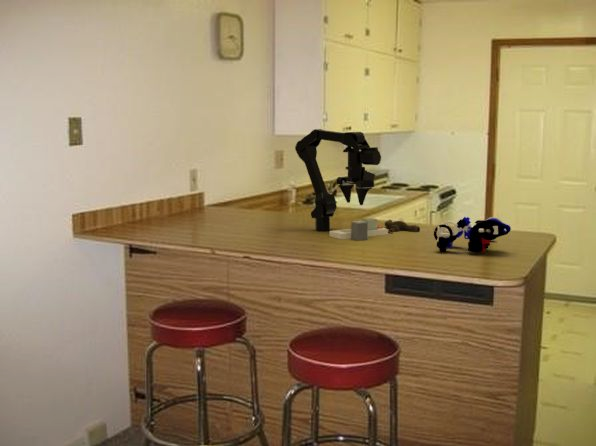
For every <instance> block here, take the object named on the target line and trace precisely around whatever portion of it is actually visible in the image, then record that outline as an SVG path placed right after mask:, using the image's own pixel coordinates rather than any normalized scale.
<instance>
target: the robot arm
mask: <svg viewBox="0 0 596 446" xmlns="http://www.w3.org/2000/svg"><path fill="white" fill-rule="evenodd" d="M322 140H323V141H329V142H336V143H341V144H342V145H343V146H346V148H345V149H343V150H342V152H343V153H347V166H345V170H347V176H338V177H337V178H336V185H337V186H338V187H339V188H340V190H341V192H342V194H343V198H344V199H345V201H346V203H351V197H352V189H353V187H354V186H355V185H356V186H355V190H356V195H357V199H358V203H359V206H363V205H364V203H365V200H366V196H367V194H368V192H369V191H370V190H372V189H373V188H375V178H376V174H375V173H372V172H370V171H368V170H366V167H365V166H363V165H366V166H378V165H380V163H381V160H382V155H381V152H380V151H379V147H378V146H377V147H376V146H375V147H371V146H370V145H369V142H368V141H367V140H366V137H365V135H364V132H362V131H348V132H340V131H335V130H334V131H333V130H325V129H321V128H316V129H312V131H310V132H309V133H308V134H307V135H305V136H304V137H302V138H301V139H300V140H298V141H297V142H296V143H295V146H294V149H295V152H296V154H297V156H298V158H299V159H300V160H301V161H302V162H303V163H304V165H305V167H306V171H307V174H308V176H309V180H310V182H311V186H312V188H313V191H314V194H315V199H314V205H315V208H314V209H312V211H311V212H310V216H311V218H312V219H315V221H314V222H315V225H314V227H315V229H314V230H315V231H318V232H330V231H331V230H330V229H331V224H330V223H331V222H330V221H331V219H330V218H332V217H334V215H335V212H336V210H337V206H338V205H337V204H338V201H337V200H336V198H335V197H336V196H335V194H334V193H329V192H328V190H327V187H326V184H325V181H324V179H323V176H322V173H321V170H320V167H319V164H318V162H317V154H318V150H317V148H318V147H319V146H320V145H321V142H322Z"/></svg>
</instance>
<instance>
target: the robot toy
mask: <svg viewBox="0 0 596 446" xmlns="http://www.w3.org/2000/svg"><path fill="white" fill-rule="evenodd" d="M470 219H471V218H470V217H469V216H467V217H466V216H464V217H463V218H461V219H459V220H458V221H457V222H455V221H453V220H446V221H444V222H443V223H442V224H439V225H437V226H436V227H435V228H434V231H433V237H434V239H435V240H436V242H435V243H436V244H435V246H436V248H438V249H439V253H446V252H447V249H451V248H452V247H453V243H454V242H455V241H456V240H457V239H459V238H460V237H462V235H463V234H464V237H463V238H464V239H465V240H468V242H467V250H468V252H470V253H484V252H485V251H486V250H487V249H488V248H489V247H490V245H491V243H496V244H497V243H498V240H496V239H497V238H500V237H502V236H506V235H508V234H509V233H510V232H511V230H512V228H511V226H510V224H507V223H504V222H503V221H502V220H501V219H500V218H498V217H495V216H491V217H489V218H488V217H487V219H485V220H484V219H482V220H481V219H479V220H478V219H477V220H476V221H475V222H474V225H472V224H471V223H472V221H470ZM448 224H452V225H454V227H453V228H452V227H450V226H449V225H448ZM444 231H445V232H444Z"/></svg>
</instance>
